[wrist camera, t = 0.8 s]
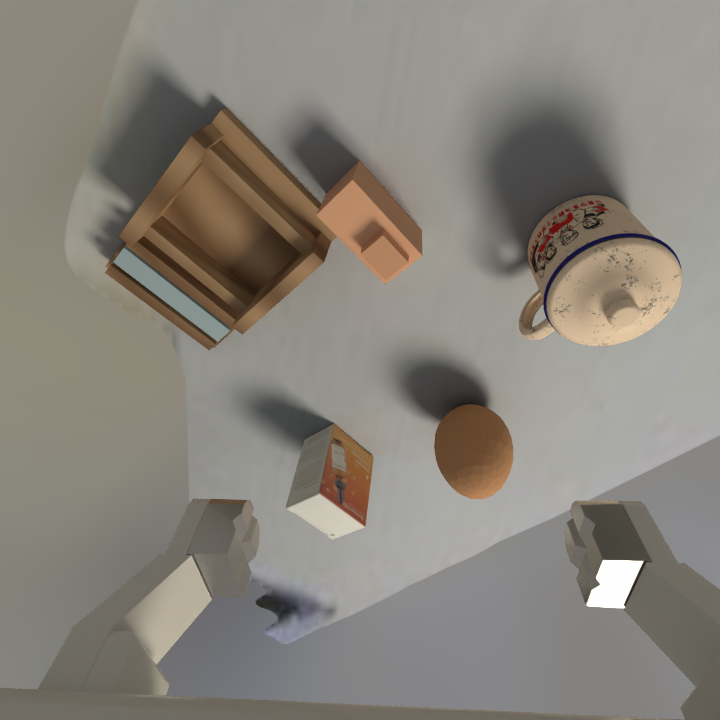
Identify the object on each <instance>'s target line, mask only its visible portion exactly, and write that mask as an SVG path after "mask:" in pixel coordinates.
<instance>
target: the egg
mask: <svg viewBox="0 0 720 720" xmlns="http://www.w3.org/2000/svg"><path fill="white" fill-rule="evenodd" d="M434 448H435V455H436V461H437V464H438V467H439V469H440V471H441V473H442V475H443V476H444V478H445V479H446V481H447V482H448V483H449V484H450V486H451V487H452V488H453V489H454V490H455V491H457V492H458V493H459V494H461V495H463V496H466V497H468V498H471V499H483V498H487V497H490V496H492V495H493V494H494V493H496V492H497V491H498V490H500V489H501V487H502V486H503V484H504V483H505V481H506V480H507V477H508V475H509V473H510V470H511V468H512V463H513V445H512V439H511V436H510V433H509V430H508V428H507V426H506V425H505V423H504V422H503V420H502V419H501V418H500V417H499V416H498V415H497V414H496V413H495V412H493V411H492V410H490V409H488V408H486V407H484V406H480V405H474V404H467V405H462V406H459V407H456V408H455V409H453V410H452V411H450V412H449V413H448V414H447V415H446V416H445V417H444V418H443V419H442V421H441V422H440V424H439V426H438V428H437V431H436V434H435V445H434Z"/></svg>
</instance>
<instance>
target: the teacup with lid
mask: <svg viewBox="0 0 720 720" xmlns="http://www.w3.org/2000/svg"><path fill="white" fill-rule="evenodd" d="M528 262H529V265H530V268H531V270H532V273H533V276H534V278H535V281H536V283H537V286H538V288H539V290H538V291H537V292H536V293H535V294H534V295H533V296H532V297H531V298H530V299H529V300H528V301H527V303H526V304H525V306H524V308H523V310H522V312H521V315H520V319H519V329H520V332H521V333H522V334H523V335H524V336H525V337H526V338H528V339H530V340H538V339H541V338H544V337H546V336H547V335H549V334H550V333H552V332H553V331H554V330H556V331H557V332H558V333H559V334H561V335H562V336H564V337H565V338H567V339H569V340H571V341H573V342H576V343H580V344H584V345H591V346H605V345H613V344H618V343H622V342H625V341H628V340H631V339H633V338H635V337H638V336H640V335H641V334H643V333H645V332H647V331H648V330H650V329H651V328H653V327H654V326H655V325H656V324H658V323H659V322H660V321H661V320H662V319H663V318H664V317H665V316H666V315H667V314H668V313H669V311H670V310H671V308H672V307H673V305H674V304H675V302H676V300H677V298H678V295H679V292H680V289H681V284H682V271H681V265H680V262H679V260H678V257H677V256H676V254H675V253H674V251H673V250H672V249H671V248H670V247H669V246H668V245H667V244H666V243H664V242H662V241H661V240H659V239H657V238H655V237H654V236H653V235H652V234H651V233H650V232H649V231H648V230H647V229H646V228H645V227H644V226H643V225H642V224H641V222H640V221H639V220H638V219H637V218H636V217H635V216H634V215H633V214H632V213H631V212H630V211H629V210H628V209H627V208H626V207H625V206H624V205H623V204H622V203H620V202H618V201H617V200H615V199H612V198H609V197H606V196H599V195H589V196H582V197H578V198H574V199H571V200H569V201H566V202H564V203H562V204H560V205H559V206H557V207H555V208H554V209H553V210H551V211H550V212H549V213H548V214H547V215H545V217H544V218H543V219H542V220H541V221H540V222H539V223H538V225H537V226H536V228H535V230H534V231H533V233H532V235H531V238H530V241H529V245H528ZM542 305H544V311H545V315H546V319H545V320H544V321H542V322H541V323H540V324H538V325H537V326H535V327H532V322H533V319H534V316H535V314H536V312H537V311H538V309H539V308H540V307H541V306H542Z"/></svg>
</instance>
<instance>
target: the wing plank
mask: <svg viewBox="0 0 720 720" xmlns="http://www.w3.org/2000/svg"><path fill="white" fill-rule="evenodd" d="M114 263H115V264H116V265H118V266H119V267H120V268H121V269H123V270H124V271H125V272H127V273H128V274H129V275H131V276H132V277H133V278H135V279H136V280H137V281H139V282H140V283H141V284H142V285H144V286H145V287H146V288H148V289H149V290H150V291H152V292H153V293H154V294H156V295H157V296H158V297H160V298H161V299H162V300H164V301H165V302H166V303H167V304H169V305H170V306H171V307H173V308H174V309H175V310H177V311H178V312H179V313H181V314H182V315H183V316H185V317H186V318H187V319H188V320H190V321H191V322H192V323H194V324H195V325H196V326H198V327H199V328H200V329H202V330H203V331H204V332H206V333H207V334H208V335H210V336H211V337H212V338H213V339H215V340H216V341H217V342H218V341H220V340H221V339H222V338H223V337H224V336H225V335H226V334H227V333H228V332H229V331H230V330H231V328H230V327H229V326H227V325H226V324H225V323H223V322H222V321H221V320H220V319H218V318H217V317H216V316H215V315H213V314H212V313H211V312H209V311H208V310H207V309H206V308H204V307H203V306H202V305H201V304H199V303H198V302H197V301H195V300H194V299H193V298H192V297H190V296H189V295H188V294H187V293H185V292H184V291H183V290H181V289H180V288H179V287H178V286H176V285H175V284H174V283H173V282H171V281H170V280H169V279H167V278H166V277H165V276H164V275H162V274H161V273H160V272H159V271H157V270H156V269H155V268H153V267H152V266H151V265H150V264H148V263H147V262H146V261H145V260H143V259H142V258H141V257H139V256H138V255H137V254H136V253H134V252H133V251H132V250H131V249H129V248H128V247H127V246H125V247H124V248H123V250H122V251H121V252H120V254H119V255H118V256H117V258H116V259H115V260H114Z"/></svg>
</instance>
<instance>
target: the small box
mask: <svg viewBox="0 0 720 720" xmlns="http://www.w3.org/2000/svg"><path fill="white" fill-rule="evenodd" d="M373 458H374V457H373V456H372V455H370V454H369V453H368V452H367V451H365V450H364V449H363V448H362V447H361V446H359V445H358V444H357V443H356V442H355V441H354V440H352V439H351V438H350V437H349V436H348V435H347V434H345V433H344V432H343V431H342V430H341V429H340V428H339V427H338V426H337V425H335V424H332V425H330V426H329V427H327V428H325V429H323V430H321V431H319V432H318V433H316V434H314V435H312V436H310V437H308V438H307V439H305V440H304V443H303V447H302V450H301V454H300V458H299V461H298V465H297V468H296V472H295V476H294V479H293V483H292V487H291V490H290V494H289V498H288V501H287V505H286V508H287V509H288V510H289V511H291V512H293V513H295V514H296V515H298V516H299V517H301V518H302V519H304V520H305V521H307V522H308V523H310V524H311V525H313V526H314V527H316V528H317V529H318V530H320V531H321V532H323V533H324V534H326V535H327V536H328V537H329V538H331V539H335V538H337V537H340V536H343V535H345V534H348V533H351V532H353V531H356V530H359V529H361V528H364V527H365V525H366V517H367V509H368V500H369V492H370V483H371V475H372V467H373Z"/></svg>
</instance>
